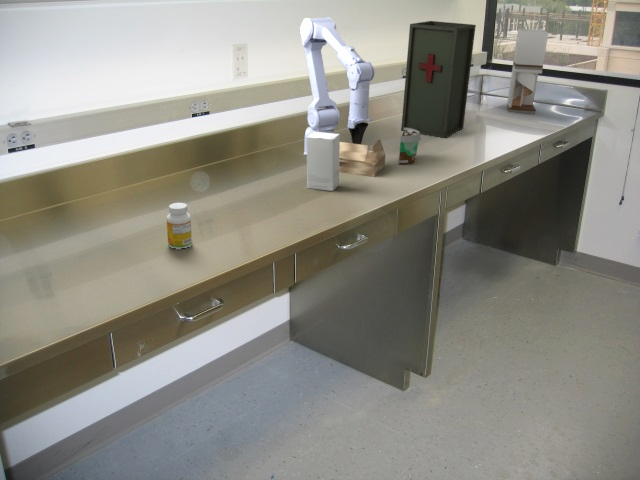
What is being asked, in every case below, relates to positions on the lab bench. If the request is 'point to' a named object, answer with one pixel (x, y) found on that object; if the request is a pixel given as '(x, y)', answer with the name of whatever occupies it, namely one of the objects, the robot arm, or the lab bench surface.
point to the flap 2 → (378, 150)
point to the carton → (362, 165)
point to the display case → (526, 69)
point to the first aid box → (437, 77)
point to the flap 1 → (353, 151)
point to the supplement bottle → (179, 226)
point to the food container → (408, 146)
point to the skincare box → (323, 161)
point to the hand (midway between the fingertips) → (356, 145)
